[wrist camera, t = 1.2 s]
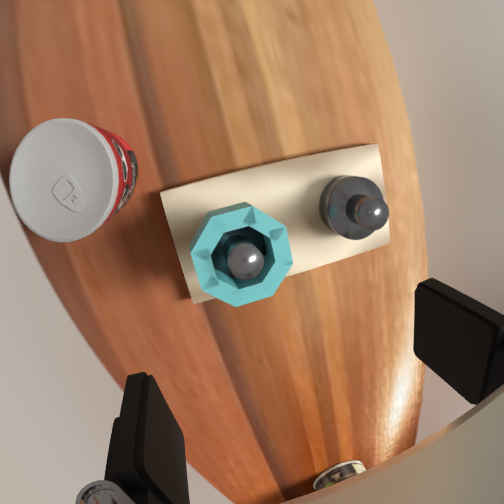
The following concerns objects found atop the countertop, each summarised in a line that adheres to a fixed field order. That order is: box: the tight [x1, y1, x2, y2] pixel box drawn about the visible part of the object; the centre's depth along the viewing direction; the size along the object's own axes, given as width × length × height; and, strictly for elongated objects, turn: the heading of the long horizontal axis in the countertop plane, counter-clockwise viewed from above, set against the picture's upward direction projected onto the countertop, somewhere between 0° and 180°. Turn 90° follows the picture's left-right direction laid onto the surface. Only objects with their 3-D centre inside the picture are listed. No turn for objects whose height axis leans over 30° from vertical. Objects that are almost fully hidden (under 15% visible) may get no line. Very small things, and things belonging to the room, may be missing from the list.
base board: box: [160, 144, 390, 304], centre depth 31 cm, size 11×22×2 cm, turn 104°
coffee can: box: [313, 460, 366, 491], centre depth 41 cm, size 10×10×14 cm
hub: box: [319, 175, 389, 240], centre depth 29 cm, size 6×6×6 cm
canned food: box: [9, 118, 138, 242], centre depth 22 cm, size 8×8×11 cm
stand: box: [211, 226, 267, 280], centre depth 26 cm, size 5×5×8 cm
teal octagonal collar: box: [189, 202, 293, 307], centre depth 24 cm, size 7×7×2 cm
